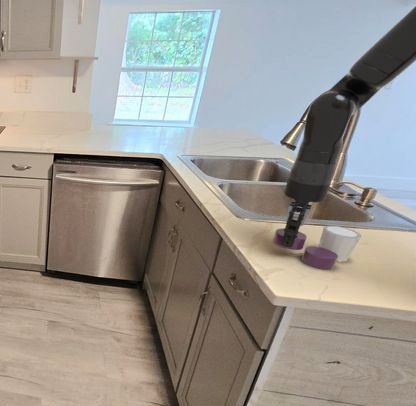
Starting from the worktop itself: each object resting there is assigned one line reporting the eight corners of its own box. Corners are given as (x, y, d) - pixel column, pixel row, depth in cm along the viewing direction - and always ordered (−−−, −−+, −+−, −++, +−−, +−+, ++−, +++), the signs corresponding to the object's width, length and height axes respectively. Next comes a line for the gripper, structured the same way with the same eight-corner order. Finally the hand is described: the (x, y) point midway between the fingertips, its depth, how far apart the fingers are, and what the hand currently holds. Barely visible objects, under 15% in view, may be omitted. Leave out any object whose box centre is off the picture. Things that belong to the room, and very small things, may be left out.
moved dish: (300, 241, 93) (304, 231, 92) (305, 252, 88) (309, 241, 87) (271, 236, 96) (274, 226, 95) (274, 246, 91) (277, 236, 90)
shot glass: (344, 266, 88) (356, 240, 85) (309, 254, 93) (318, 229, 90) (354, 257, 91) (365, 232, 88) (319, 246, 96) (329, 222, 93)
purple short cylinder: (330, 260, 90) (334, 249, 89) (336, 272, 85) (341, 261, 84) (299, 254, 93) (302, 244, 92) (303, 265, 88) (308, 255, 87)
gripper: (328, 190, 78) (304, 257, 85) (333, 174, 87) (311, 235, 94) (284, 183, 83) (264, 247, 90) (293, 168, 92) (275, 227, 99)
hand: (288, 241), depth 92 cm, fingers closed on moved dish, 6 cm apart
